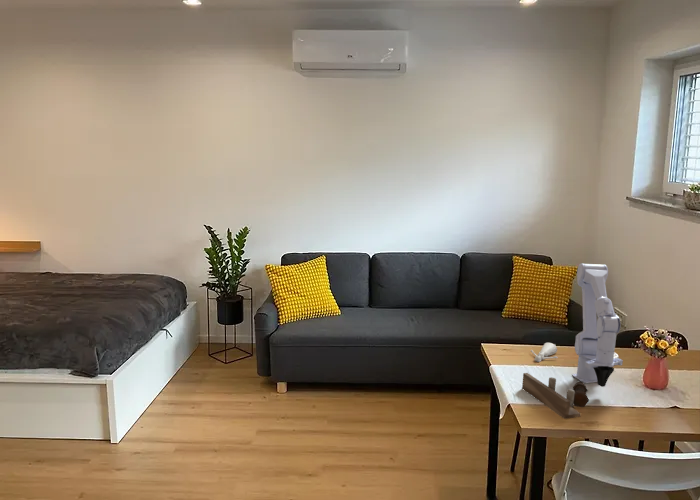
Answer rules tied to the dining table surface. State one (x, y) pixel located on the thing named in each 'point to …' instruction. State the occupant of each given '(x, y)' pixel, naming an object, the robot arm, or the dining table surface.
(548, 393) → the peg rack
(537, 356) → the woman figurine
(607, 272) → the robot arm
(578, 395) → the dark brown elongated lump
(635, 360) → the dining table surface
